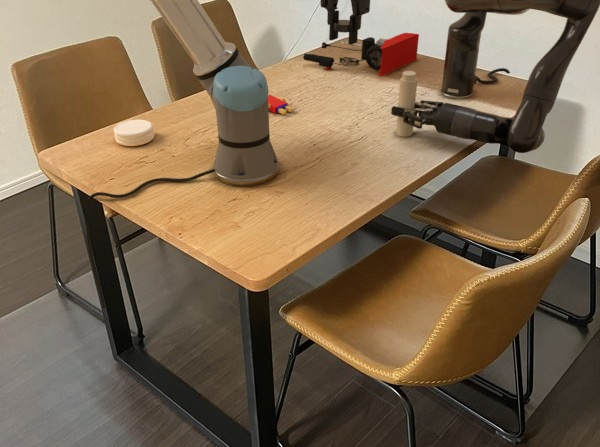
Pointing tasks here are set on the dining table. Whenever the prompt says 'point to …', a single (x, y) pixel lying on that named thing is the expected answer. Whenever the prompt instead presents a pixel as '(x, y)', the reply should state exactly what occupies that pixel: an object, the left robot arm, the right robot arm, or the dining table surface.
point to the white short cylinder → (134, 132)
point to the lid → (341, 25)
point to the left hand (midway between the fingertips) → (343, 40)
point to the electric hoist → (377, 53)
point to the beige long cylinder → (406, 101)
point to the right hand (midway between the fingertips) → (396, 107)
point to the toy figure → (278, 105)
